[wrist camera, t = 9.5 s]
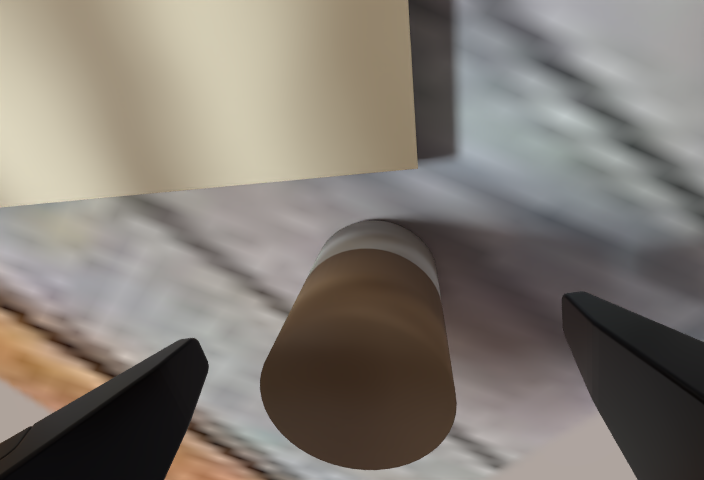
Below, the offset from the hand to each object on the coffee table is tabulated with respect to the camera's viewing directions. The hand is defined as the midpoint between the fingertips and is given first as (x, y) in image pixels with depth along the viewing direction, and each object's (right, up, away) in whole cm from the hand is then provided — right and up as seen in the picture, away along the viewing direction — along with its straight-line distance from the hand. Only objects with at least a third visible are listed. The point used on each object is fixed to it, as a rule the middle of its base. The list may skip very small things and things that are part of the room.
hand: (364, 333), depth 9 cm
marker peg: (0, +1, +3) cm, 3 cm away
